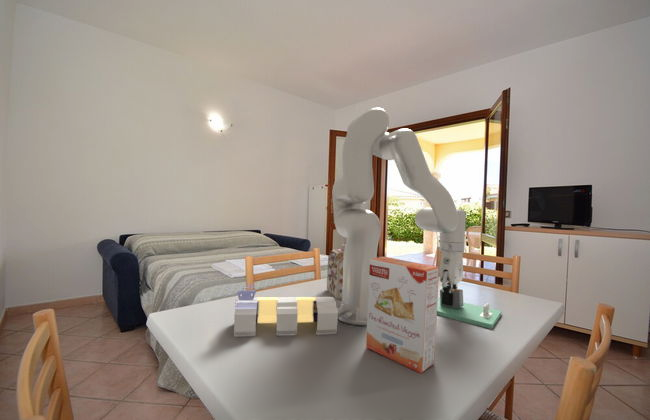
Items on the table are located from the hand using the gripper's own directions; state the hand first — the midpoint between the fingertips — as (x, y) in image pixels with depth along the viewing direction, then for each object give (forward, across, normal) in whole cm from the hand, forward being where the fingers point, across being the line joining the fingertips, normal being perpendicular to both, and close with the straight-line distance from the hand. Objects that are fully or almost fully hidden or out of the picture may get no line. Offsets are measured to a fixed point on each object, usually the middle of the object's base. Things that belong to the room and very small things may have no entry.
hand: (449, 302), depth 98 cm
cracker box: (+2, -40, -1) cm, 40 cm away
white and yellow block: (+2, -47, +27) cm, 54 cm away
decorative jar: (+2, -10, +34) cm, 35 cm away
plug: (+1, 0, -1) cm, 1 cm away
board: (+2, 0, -4) cm, 5 cm away
